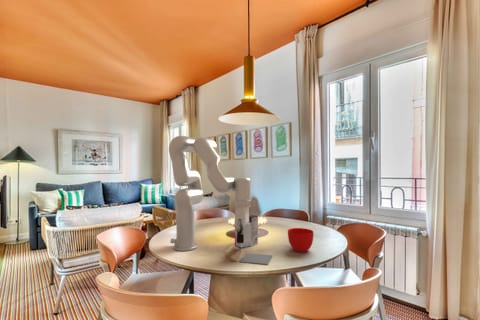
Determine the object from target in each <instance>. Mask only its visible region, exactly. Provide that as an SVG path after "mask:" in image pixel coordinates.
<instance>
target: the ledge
mask: <svg viewBox="0 0 480 320" xmlns="http://www.w3.org/2000/svg"><path fill="white" fill-rule="evenodd" d="M224 253H225V255H224V257H225V258H224V260H225V261H228V262H240V260H241V259H242V258H243V256H244V255H245V248H243V249H241V248H238V247H236V246H235V244H232V245H231V246H229V248H227V249H226V250H225V252H224Z"/></svg>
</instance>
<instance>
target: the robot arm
mask: <svg viewBox="0 0 480 320" xmlns="http://www.w3.org/2000/svg"><path fill="white" fill-rule="evenodd" d="M217 149H218V145H217V143H216V141H215V140H213V139H211V138H207V137H191V136H186V135H178V136H175V137H173V138H172V139H171V141H170V142H169V145H168V152H169V158H170V161H171V166H172V174H173V179H174V182H175V184H176V186H178V187H185V188H182V189H178V190H177V191H176V193H175V195H174V204H175V210H176V211H175V213H176V218H175V219H176V225H175V226H176V233H175V234H176V238H170V241H169V242H170V244H174V245H173V249H174V250H175V251H179V252H187V251H192V250H195V249H197V248H198V244H197V243H196V242H195V210H194V208H193V206H194V205H198V204H200V203H202V201H203V199H204V189H203V185H202V180H201V179H202V177H201V174H200V173H199V171H198V170H196V169H194V168H190V167H189V163H188V162H189V160H188V159H187V157H186V155H185V154H184V153H192V154H193V153H195V154H196V155H197V156H198V157H199V158H200V160H201V161H202V163H203V165H204V166H205V167H206V170H205V171H206V174H207V175H206V176H207V178H208V180H209V182H210V184H211V185H212V186H213V188H214V190H216V191H217V192H218V193H221V194H225V193H231V192H232V193H233V192H234V207H235V212H234V229H235V228H237V243H244V234H243V230H244V228H245V227H246V223H247V222H249V214H250V208H251V179H250V178H249V177H246V176H245V177H243V176H241V177H236V176H224V175H223V173H222V172H221V171H220V169H219V164H220V162H221V157H220V155H219V154H218V153H217ZM241 224H242V226H243V227H240V226H241ZM241 229H242V231H241Z"/></svg>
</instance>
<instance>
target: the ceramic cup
mask: <svg viewBox="0 0 480 320" xmlns="http://www.w3.org/2000/svg"><path fill="white" fill-rule="evenodd" d="M287 238H288V243H289V244H290V247H291V248H292V249H293V250H294V252H297V253H307V252H308V251H309V250H310V249H311V247H312V245H313V243H314V231H313V230H312V229H309V228H303V227H294V228H289V229H288V230H287Z"/></svg>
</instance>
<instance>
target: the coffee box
mask: <svg viewBox="0 0 480 320" xmlns="http://www.w3.org/2000/svg"><path fill="white" fill-rule="evenodd" d="M249 222H250V223H251V247H253V246H256V245H258V244H259V215H257V214H251V213H249Z"/></svg>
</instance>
